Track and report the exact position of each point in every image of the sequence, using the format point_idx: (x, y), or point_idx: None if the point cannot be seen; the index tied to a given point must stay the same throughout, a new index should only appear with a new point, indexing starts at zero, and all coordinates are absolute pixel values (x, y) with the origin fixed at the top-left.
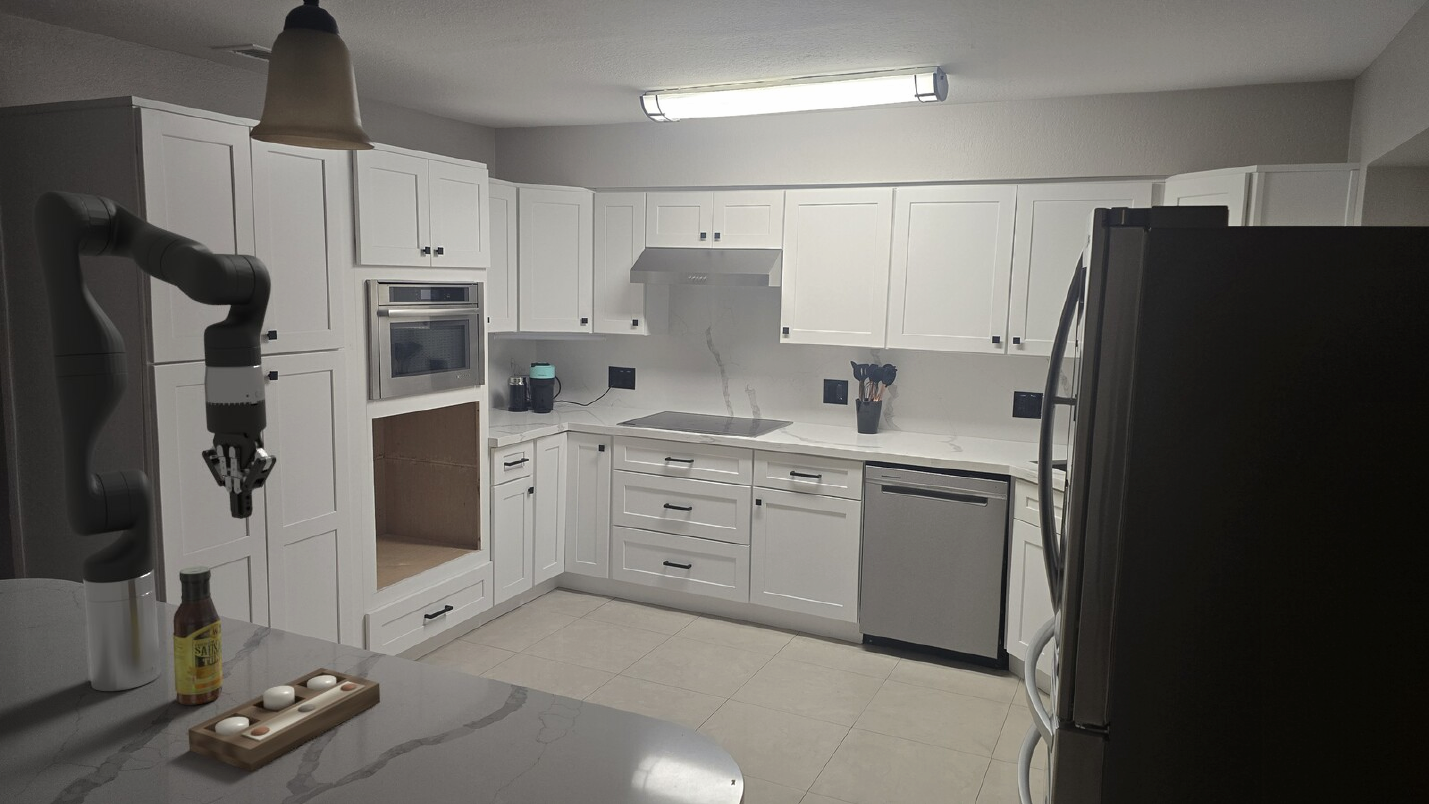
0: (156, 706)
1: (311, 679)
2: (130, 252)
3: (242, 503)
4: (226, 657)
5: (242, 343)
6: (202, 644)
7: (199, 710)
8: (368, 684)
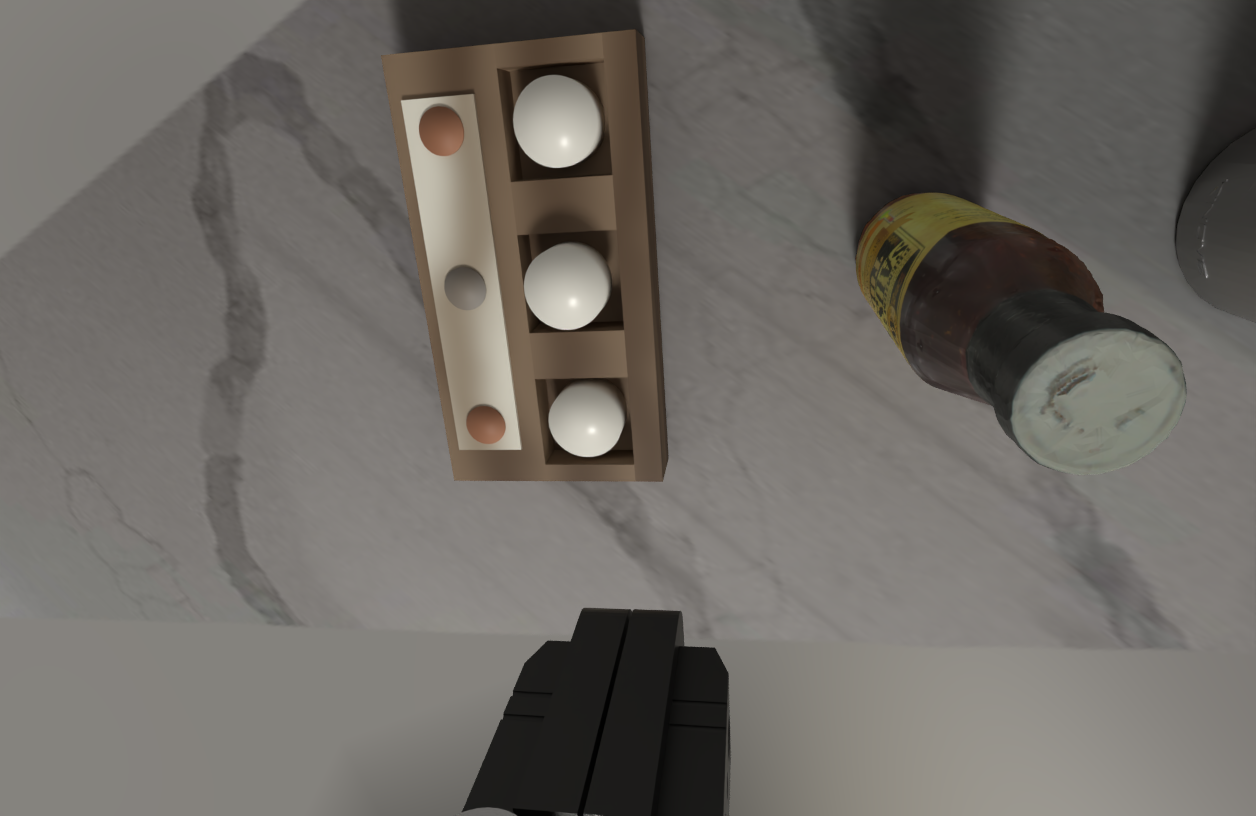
0: (993, 150)
1: (617, 417)
2: None
3: (515, 731)
4: None
5: None
6: (893, 269)
7: (842, 203)
8: (468, 462)
